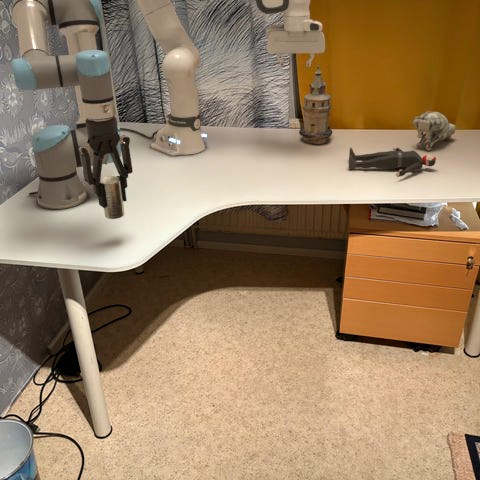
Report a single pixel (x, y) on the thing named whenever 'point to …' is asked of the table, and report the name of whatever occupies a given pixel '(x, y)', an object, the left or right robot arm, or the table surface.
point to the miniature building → (316, 112)
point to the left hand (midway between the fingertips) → (112, 202)
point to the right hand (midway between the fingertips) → (295, 66)
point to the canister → (113, 197)
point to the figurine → (432, 128)
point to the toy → (391, 160)
